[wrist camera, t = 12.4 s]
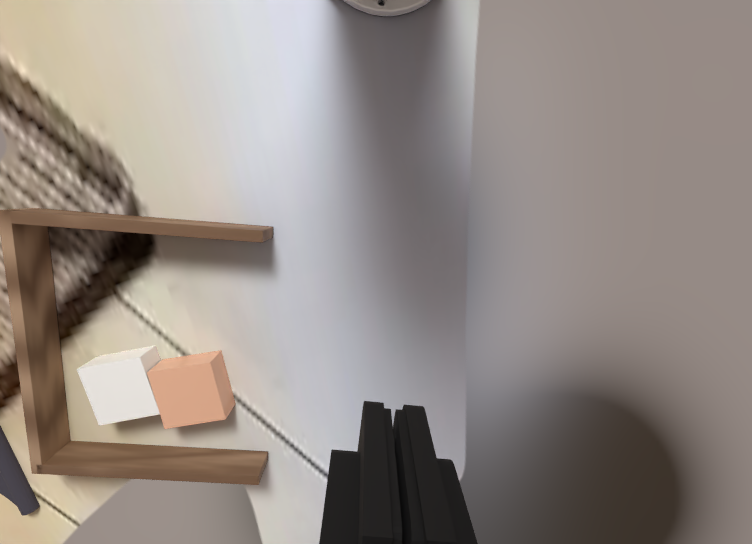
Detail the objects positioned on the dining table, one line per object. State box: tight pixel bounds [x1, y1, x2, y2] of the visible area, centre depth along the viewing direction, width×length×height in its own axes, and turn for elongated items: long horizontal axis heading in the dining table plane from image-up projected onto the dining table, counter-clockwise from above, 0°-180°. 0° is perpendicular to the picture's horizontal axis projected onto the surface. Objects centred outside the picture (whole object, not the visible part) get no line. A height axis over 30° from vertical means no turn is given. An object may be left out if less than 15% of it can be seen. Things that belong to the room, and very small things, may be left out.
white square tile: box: [77, 345, 161, 425], centre depth 37 cm, size 6×6×3 cm
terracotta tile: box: [147, 350, 235, 429], centre depth 37 cm, size 6×6×3 cm
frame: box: [0, 208, 273, 485], centre depth 35 cm, size 25×22×4 cm
